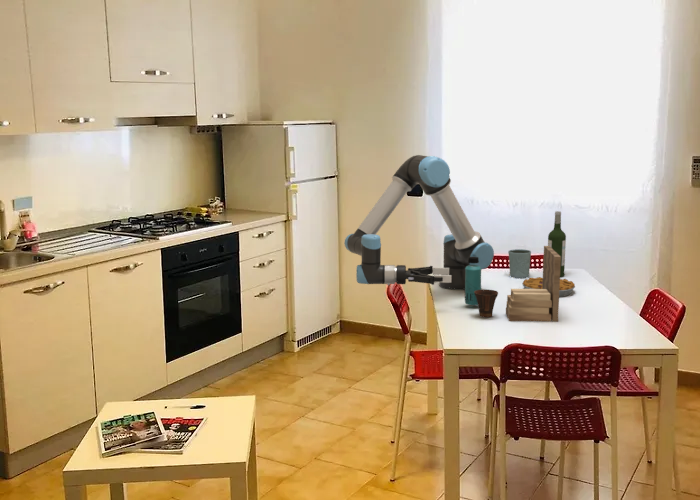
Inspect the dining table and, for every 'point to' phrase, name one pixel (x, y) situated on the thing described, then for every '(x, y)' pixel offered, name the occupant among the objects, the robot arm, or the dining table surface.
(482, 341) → the dining table surface
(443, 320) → the dining table surface
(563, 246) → the wine bottle
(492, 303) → the cup
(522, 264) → the grey plastic cylinder
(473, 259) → the beverage bottle
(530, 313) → the offcut rack
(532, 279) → the pie
